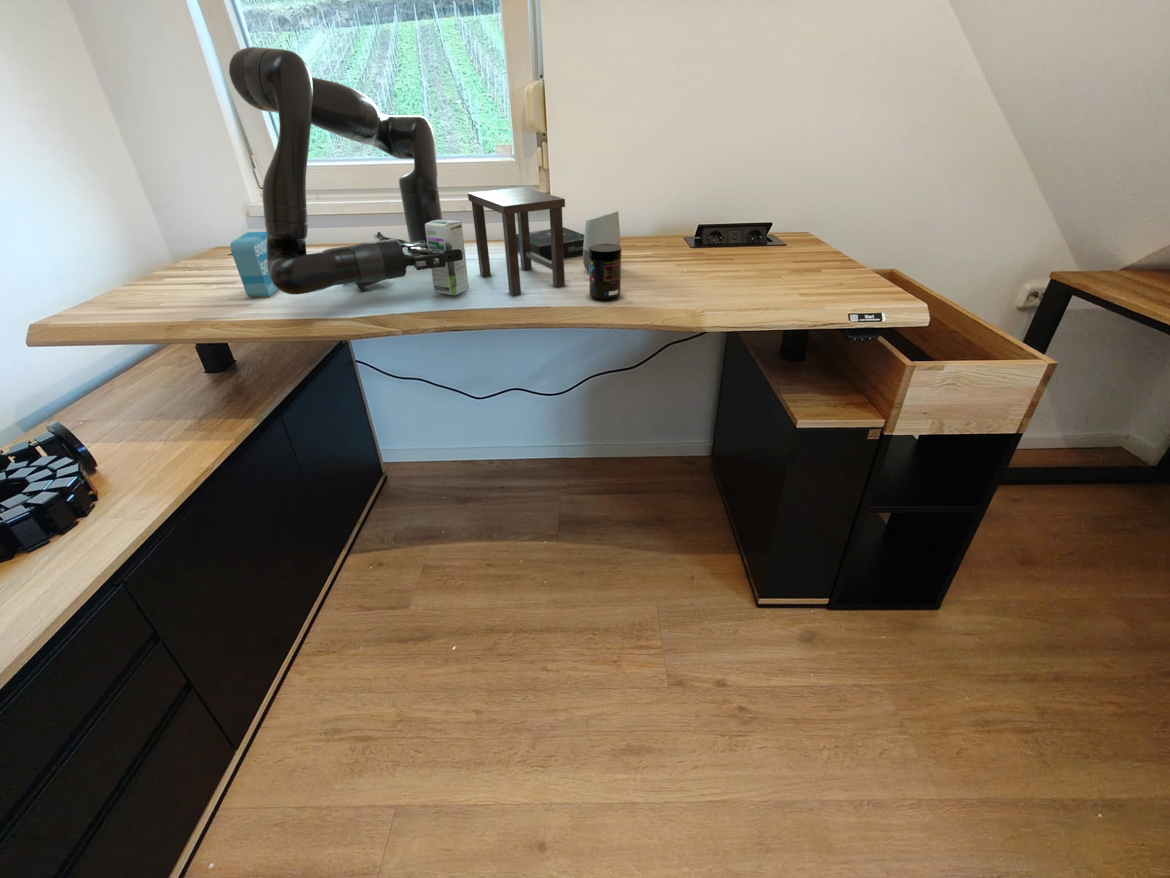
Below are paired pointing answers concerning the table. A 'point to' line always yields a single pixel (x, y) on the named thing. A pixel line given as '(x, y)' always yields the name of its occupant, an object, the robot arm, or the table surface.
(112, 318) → the table surface
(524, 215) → the side table
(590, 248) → the supplement container
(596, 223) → the smart speaker
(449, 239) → the syrup box
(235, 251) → the data package
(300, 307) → the table surface
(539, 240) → the black flat box
